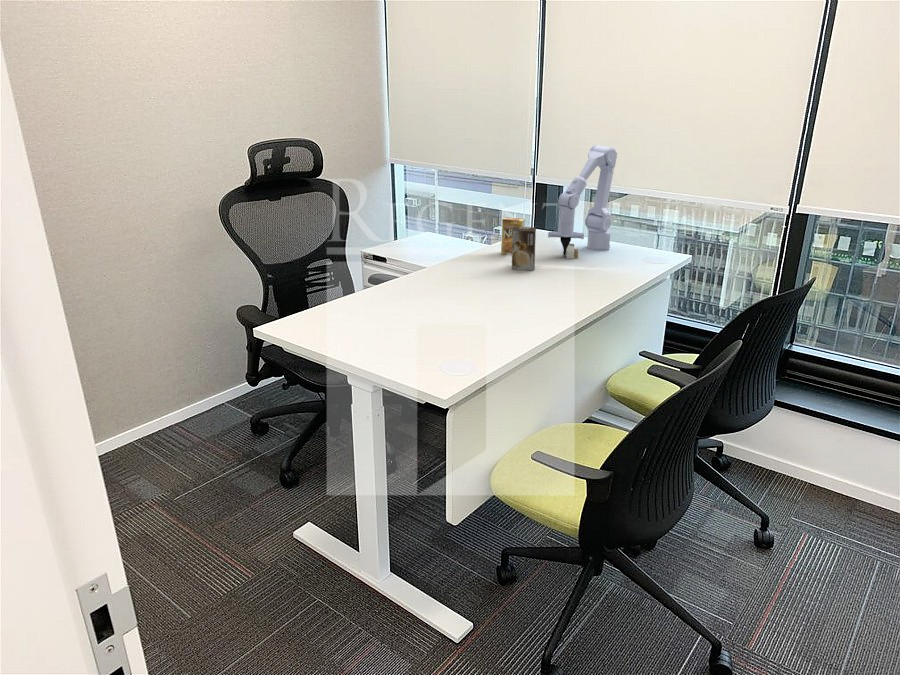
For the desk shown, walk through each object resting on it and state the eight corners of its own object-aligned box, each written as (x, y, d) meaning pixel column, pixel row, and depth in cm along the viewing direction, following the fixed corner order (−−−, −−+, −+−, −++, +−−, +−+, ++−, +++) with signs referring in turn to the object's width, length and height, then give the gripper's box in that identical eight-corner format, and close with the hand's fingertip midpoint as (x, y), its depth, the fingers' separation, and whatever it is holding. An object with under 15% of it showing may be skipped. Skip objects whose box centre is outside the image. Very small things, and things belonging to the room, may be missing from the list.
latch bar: (565, 249, 304) (565, 243, 303) (573, 250, 303) (574, 243, 302) (565, 258, 292) (566, 252, 291) (574, 258, 292) (574, 252, 291)
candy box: (500, 254, 302) (501, 219, 296) (503, 251, 306) (504, 216, 300) (521, 256, 299) (522, 220, 293) (523, 253, 303) (525, 218, 297)
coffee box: (535, 266, 288) (537, 227, 281) (534, 270, 282) (536, 231, 275) (512, 264, 289) (513, 226, 283) (511, 269, 283) (512, 230, 277)
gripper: (548, 224, 287) (546, 256, 292) (584, 225, 285) (582, 258, 290) (549, 219, 293) (547, 251, 299) (584, 221, 291) (582, 253, 296)
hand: (564, 254), depth 295 cm, fingers closed
